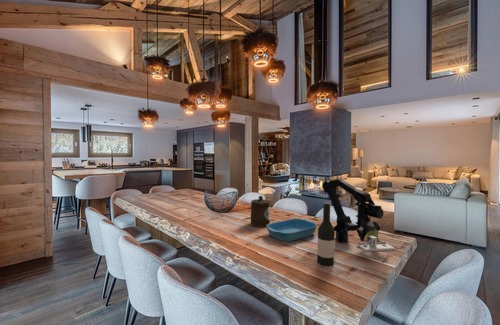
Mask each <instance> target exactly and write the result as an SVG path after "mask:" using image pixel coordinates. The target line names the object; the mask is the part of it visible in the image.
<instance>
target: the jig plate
mask: <svg viewBox="0 0 500 325" xmlns="http://www.w3.org/2000/svg"><path fill="white" fill-rule="evenodd" d="M356 245H357V247H358V248H360V249H361V250H363V251H364V252H379V251H383V252H384V251H395V250H396V247H393V245H390V244H388V243H387V241H377V246H373V247H372V246H370V245H369V241H368V242H358V243H357V244H356Z"/></svg>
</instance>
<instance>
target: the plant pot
mask: <svg viewBox="0 0 500 325" xmlns="http://www.w3.org/2000/svg"><path fill="white" fill-rule="evenodd" d="M380 228H381V225H380ZM379 231H380V230H374V231H371V232H368V233H367V235H366V238H367V239H369V236H374V237H376V238H377V239H378V237H379Z"/></svg>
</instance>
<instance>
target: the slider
mask: <svg viewBox="0 0 500 325" xmlns="http://www.w3.org/2000/svg"><path fill="white" fill-rule="evenodd" d="M368 242H369V245H370V246H372V247H373V246H377V242H378V238H376V237H374V236H369V238H368Z"/></svg>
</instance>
